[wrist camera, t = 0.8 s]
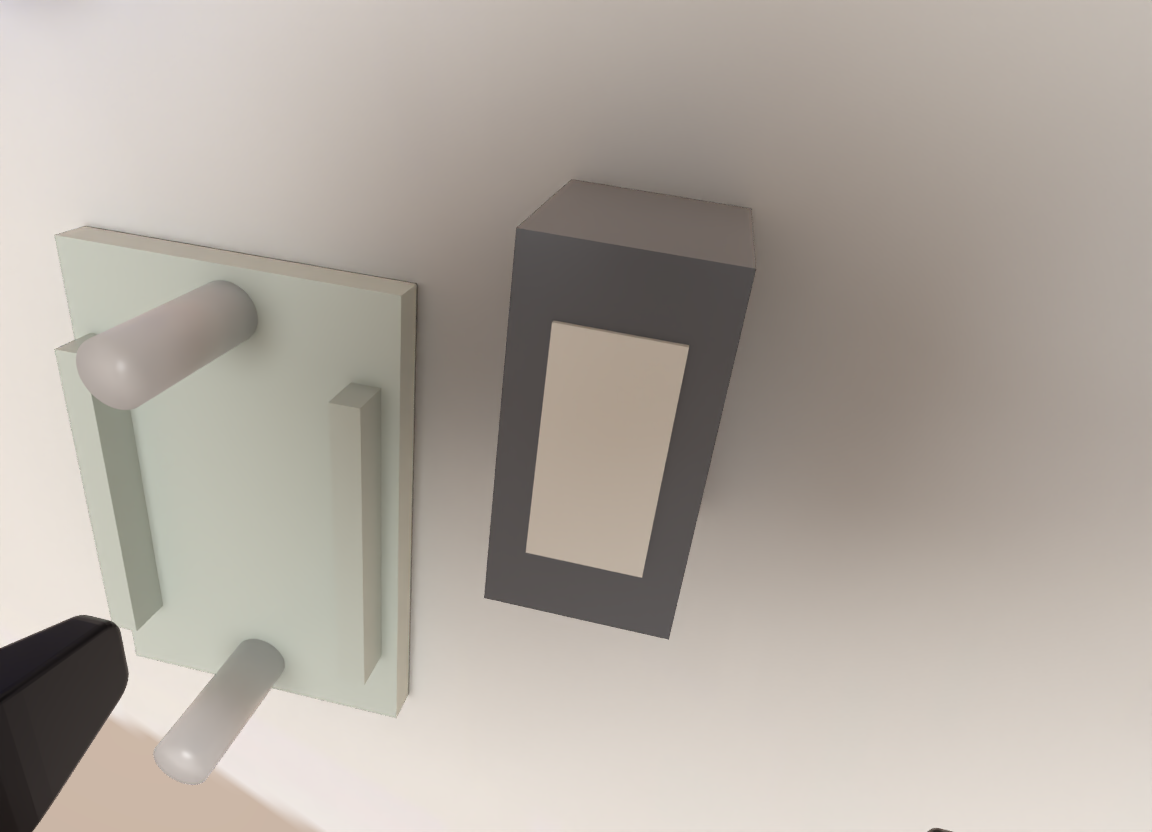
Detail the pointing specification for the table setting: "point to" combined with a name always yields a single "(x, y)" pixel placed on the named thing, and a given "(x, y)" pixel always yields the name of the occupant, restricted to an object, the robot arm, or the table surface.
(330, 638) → the pegged rail plate
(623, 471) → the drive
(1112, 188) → the table surface
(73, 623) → the robot arm
